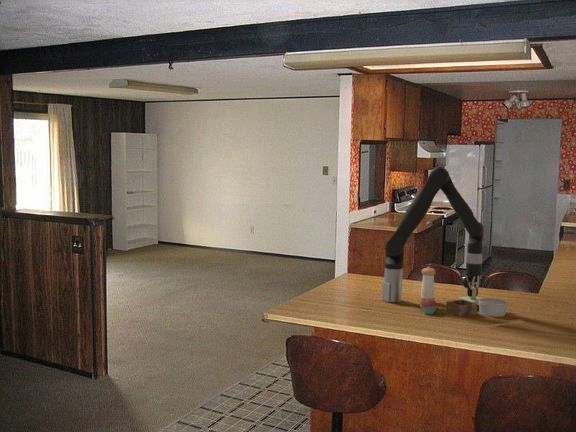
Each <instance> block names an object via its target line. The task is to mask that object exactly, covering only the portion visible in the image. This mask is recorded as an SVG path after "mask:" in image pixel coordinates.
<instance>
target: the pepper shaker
mask: <svg viewBox="0 0 576 432" xmlns="http://www.w3.org/2000/svg"><path fill="white" fill-rule="evenodd" d="M436 273H437V272H436V269H434V268H433V267H430V266H427V267H425V268H422V270H421V274H422V282H421V283H422V285H421V288H420V297H419V298H420V299H419V304H420V303H421V301H423V300H425V299H426V291H427V297H428V299H430V300H434V301H435V302H436V300H435V298H436V297H435V283H434V282H435V279H434V278H435V276H434V275H436Z"/></svg>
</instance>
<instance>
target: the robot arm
mask: <svg viewBox="0 0 576 432" xmlns="http://www.w3.org/2000/svg"><path fill="white" fill-rule="evenodd" d="M440 190H441V192H442V193H443V194H444V196H445V197H446V199H447V200H448V202H449V204H450V206H451V208H452V209H453V211H454V212H455V214H456V216H457V217H458V219H459V220H460V221H461V223H462V224H463V226H464V229H465V230H466V233H468V242H467V246H466V247H467V249H466V250H467V251H466V253H467V254H466V259H465V263H466V264H465V271H466V274H465V276H462V277H461V281H462V285H463V287H464V288H465V289H467V292H466V294H467V296H469V297H472V287H474V288H476V297H478V294H479V289H480V288H482V287H483V284H484V282H485V279H486V276H485V275H482V274H481V272H482V271H483V269H482V267H483V239H484V225H483V224H482V223H481V222H480V221H478V220H477V218H476V216H475V215H474V212H473V211H472V209H471V208H470V206H469V205H468V203H467V202H466V200H465V198H463V195H461V194H460V192H459V191H458V189H457V188H456V186H455V184H454V183H453V181H452V178H451V176H450V174H449V171H448V170H447V169H446V168H445V167H441V166H436V167H434V168H432V170H431V171H430V172H429V174H428V177H427V179H426V181H425V183H424V185H423V186H422V188H421V190H420V191H419V192H418V193H417V195H416V196H415V197H414V199H412V202H410V204H409V206H408V207H407V209H406V211H405V212H404V215H403V216H402V218H401V221H400V223H399V224H398V226H397V228H396V230H395V231H394V232H393V233H392V235H391V236H390V237H389V238H388V239H387V240H386V242H385V244H384V249H385V260H384V261H385V262H384V275H383V276H384V278H383V279H384V280H383V282H382V290H381V291H382V292H381V300H382V301H384V302H387V303H400V302H402V300H403V299H402V296H403V294H402V293H403V274H404V273H403V272H404V270H403V269H404V259H405V257H404V255H405V254H404V253H405V245H406V244H407V242H408V240H409V239H410V236H411V235H412V233H413V232H414V231H416V229H417V228H418V226H419V225H420V224H421V223H422V221H423V219H425V216H426V215H427V213H428V211H429V210H430V207H431V206H432V204H433V200H434V198H435V197H436V195H437V194H438V192H439V191H440Z"/></svg>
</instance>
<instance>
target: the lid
mask: <svg viewBox="0 0 576 432" xmlns="http://www.w3.org/2000/svg"><path fill="white" fill-rule="evenodd" d="M482 298H483V297H479V296H476V288H474V286H472V297H469V296H468V295H467V296H461V297H457V300H461V299H463V300H466V301H469V302H472V303H475V304H477V305H478V304H479V299H482Z"/></svg>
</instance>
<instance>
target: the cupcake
mask: <svg viewBox="0 0 576 432" xmlns="http://www.w3.org/2000/svg"><path fill="white" fill-rule="evenodd" d="M419 307H420V308H421V309H422V310H421V311H422V314H425V315H433V314H435V312H436V310H437V309H438V308H439V305H438V302H436V300H435V301H434V300H430V299H428V297H427V291H426V299H425V300H423V301H421V303H420V302H419Z"/></svg>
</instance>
